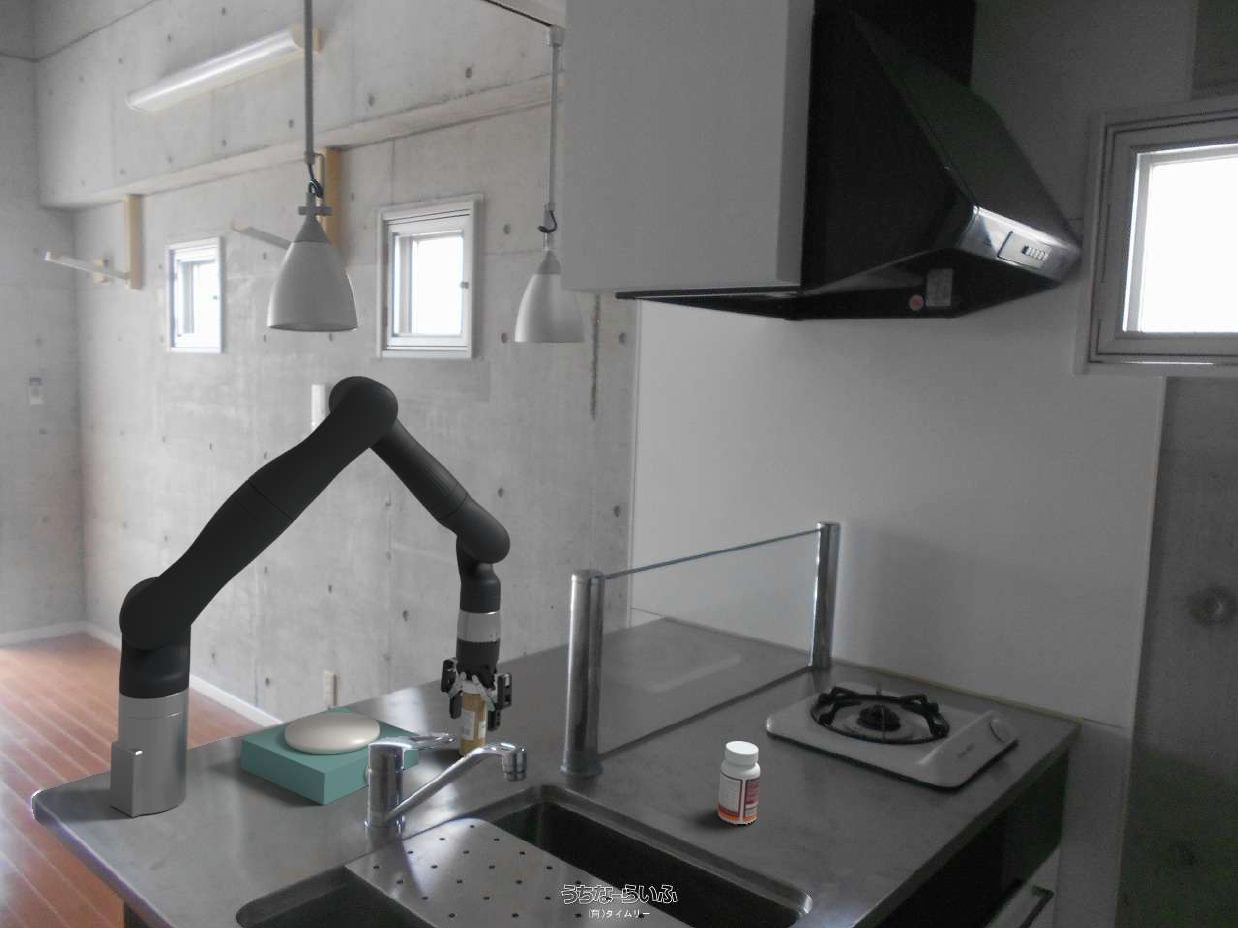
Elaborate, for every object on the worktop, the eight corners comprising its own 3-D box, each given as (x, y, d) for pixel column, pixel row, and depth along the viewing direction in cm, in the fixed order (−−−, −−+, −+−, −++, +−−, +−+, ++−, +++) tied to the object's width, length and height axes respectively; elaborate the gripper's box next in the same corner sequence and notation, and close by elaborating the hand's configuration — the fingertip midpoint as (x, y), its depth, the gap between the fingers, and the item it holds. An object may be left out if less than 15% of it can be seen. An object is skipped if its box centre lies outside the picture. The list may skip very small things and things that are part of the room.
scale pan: (327, 762, 140) (327, 754, 140) (264, 737, 147) (265, 729, 147) (398, 734, 152) (398, 727, 152) (337, 712, 160) (338, 705, 160)
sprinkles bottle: (488, 756, 158) (493, 681, 157) (464, 760, 156) (469, 684, 155) (478, 746, 162) (482, 673, 161) (454, 750, 160) (458, 676, 159)
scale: (326, 806, 136) (327, 774, 136) (240, 768, 147) (241, 738, 147) (420, 764, 153) (422, 735, 153) (338, 732, 164) (339, 706, 164)
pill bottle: (753, 808, 145) (759, 740, 144) (759, 827, 139) (765, 756, 138) (715, 806, 145) (720, 738, 144) (719, 824, 139) (724, 753, 138)
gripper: (433, 630, 158) (429, 719, 159) (496, 646, 150) (491, 740, 152) (462, 621, 164) (458, 708, 166) (524, 637, 157) (519, 727, 158)
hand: (474, 723), depth 159 cm, fingers open, 8 cm apart
